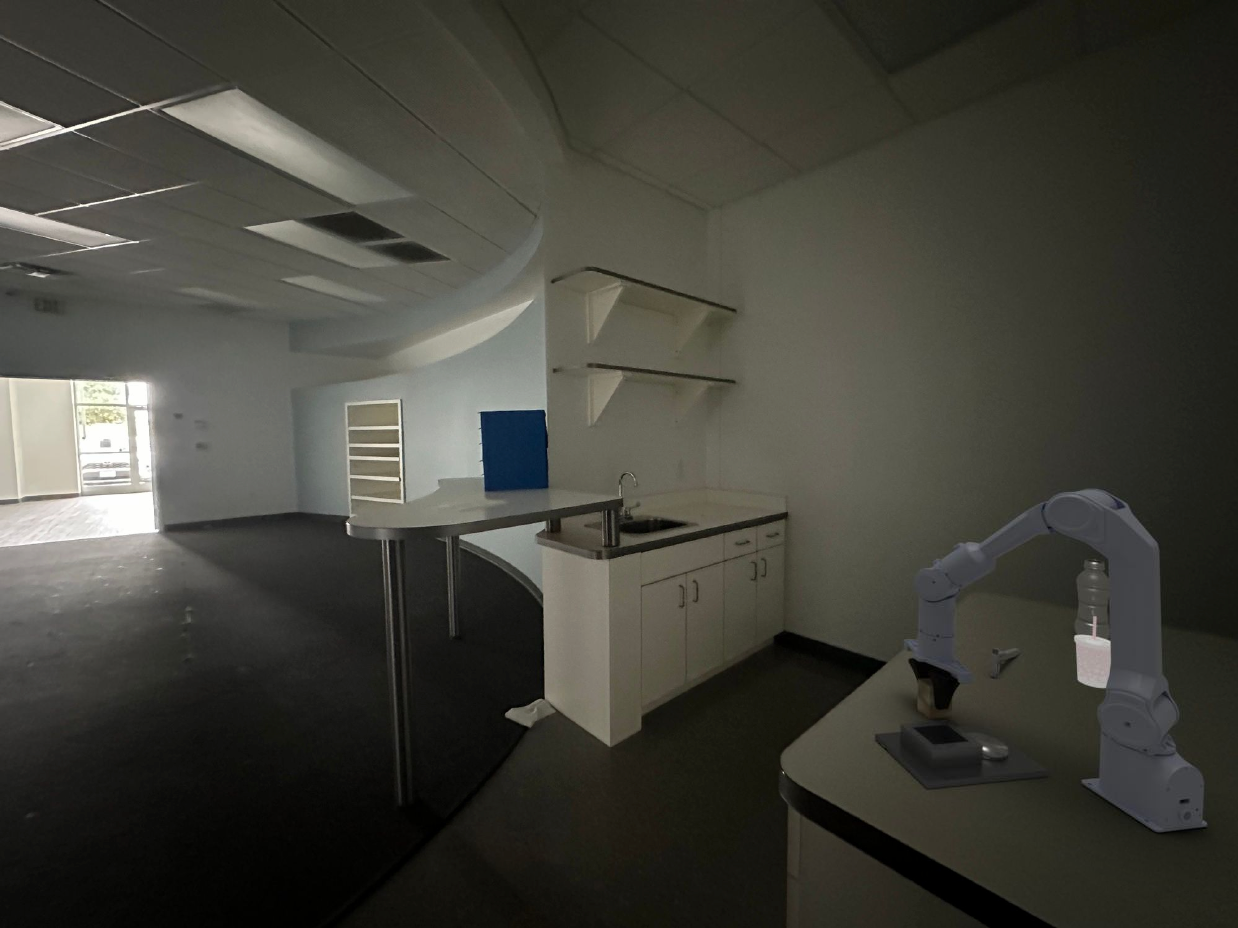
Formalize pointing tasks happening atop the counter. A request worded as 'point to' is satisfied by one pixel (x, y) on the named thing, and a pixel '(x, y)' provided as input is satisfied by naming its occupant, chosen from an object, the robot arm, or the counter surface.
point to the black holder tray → (957, 755)
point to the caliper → (1000, 659)
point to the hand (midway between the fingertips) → (934, 703)
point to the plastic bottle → (1092, 600)
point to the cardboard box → (930, 701)
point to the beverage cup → (1093, 659)
